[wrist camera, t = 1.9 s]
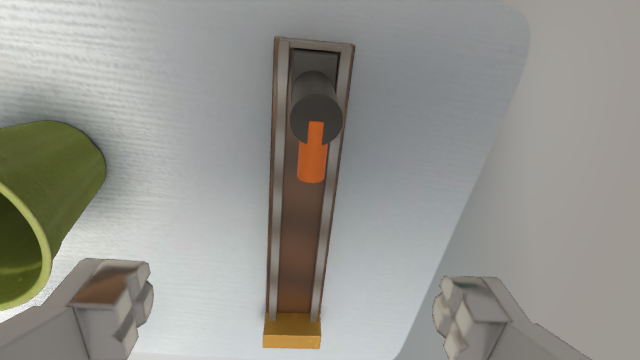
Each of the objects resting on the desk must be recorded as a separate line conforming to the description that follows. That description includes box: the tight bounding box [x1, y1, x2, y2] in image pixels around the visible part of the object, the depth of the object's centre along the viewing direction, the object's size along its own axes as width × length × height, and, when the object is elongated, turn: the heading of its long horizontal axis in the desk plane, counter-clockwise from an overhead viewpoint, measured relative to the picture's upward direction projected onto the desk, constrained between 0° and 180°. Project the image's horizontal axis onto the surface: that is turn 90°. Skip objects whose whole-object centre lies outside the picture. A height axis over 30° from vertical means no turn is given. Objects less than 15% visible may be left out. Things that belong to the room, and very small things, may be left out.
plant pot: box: [0, 121, 106, 311], centre depth 24 cm, size 12×12×11 cm
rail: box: [266, 37, 355, 322], centre depth 32 cm, size 31×6×3 cm, turn 175°
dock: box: [263, 312, 321, 349], centre depth 37 cm, size 2×6×3 cm, turn 85°
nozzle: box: [290, 48, 343, 183], centre depth 22 cm, size 6×3×10 cm, turn 175°
